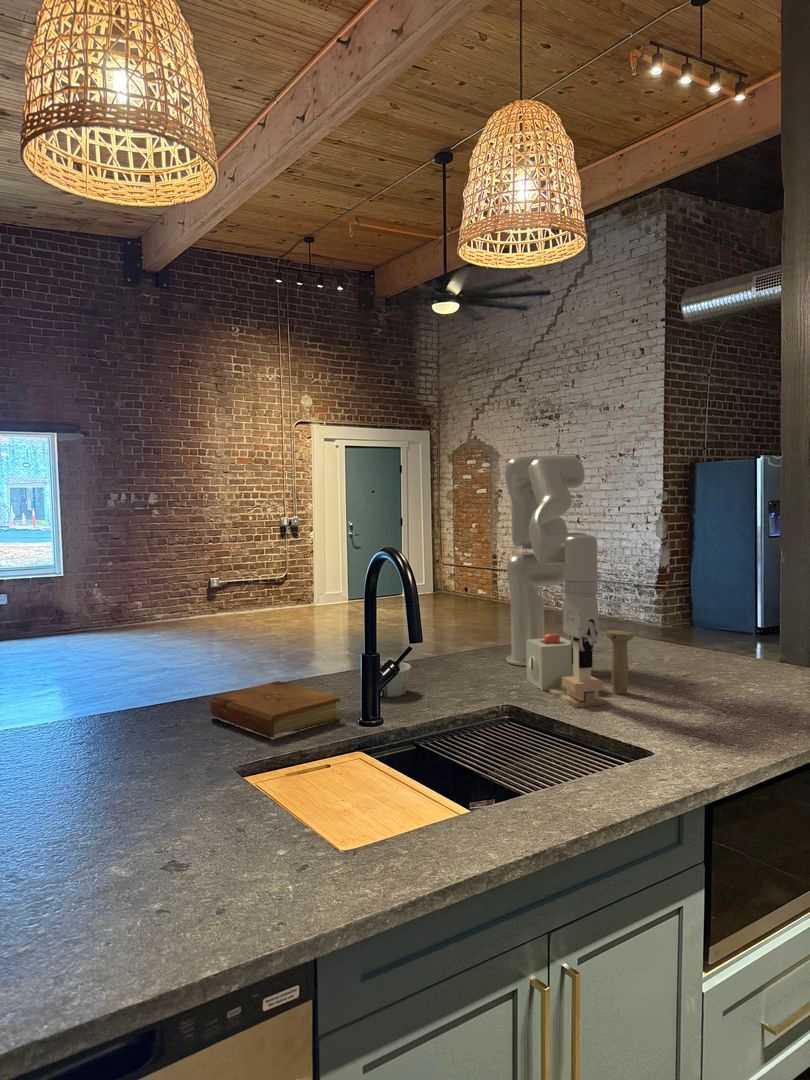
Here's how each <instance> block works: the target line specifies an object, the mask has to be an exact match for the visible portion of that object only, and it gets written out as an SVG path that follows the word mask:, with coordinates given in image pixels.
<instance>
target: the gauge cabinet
mask: <svg viewBox="0 0 810 1080" xmlns="http://www.w3.org/2000/svg"><path fill="white" fill-rule="evenodd" d="M571 648H573V647H571V640H570V639H567V638H565V637H562V636H560V643H559V644H545V643H544V638H542V639H528V640H526V666H525V667H526V668H525V669H526V682H527V681H529V682H530V683H529V682H528V683H529V684H531V683H532V684H533V685H532V684H531V685H532V686H534V685H535V686H537V687H538V688H537V687H536V688H537V689H539V688H540V689H541V691H542V690H543V691H547V690H546V689H547V687H550V686H558V678H562V677H569V676H573V664H572V657H571ZM535 686H534V687H535ZM540 689H539V690H540Z"/></svg>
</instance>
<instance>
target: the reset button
mask: <svg viewBox="0 0 810 1080" xmlns="http://www.w3.org/2000/svg"><path fill="white" fill-rule="evenodd" d="M560 637H561V636H560V634H558V633H544V643H545V644H559V643H560Z"/></svg>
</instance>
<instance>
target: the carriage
mask: <svg viewBox="0 0 810 1080" xmlns="http://www.w3.org/2000/svg"><path fill="white" fill-rule="evenodd" d="M586 641H587V640H584V644H585V642H586ZM579 651H581V650H580V640H577V641H573V676H569V677H562V686H564V687H566V688H567V694H569V695H571V696H572V697H574V698H576V699H578V700H579V701H584V692H589V691H591V692H593V693H594V700H595V699H598V696H599V691H603V690H604V681H602V680H600V679H599V678H596V677H594V676H592V667H591V668H579Z"/></svg>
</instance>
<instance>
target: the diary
mask: <svg viewBox="0 0 810 1080" xmlns="http://www.w3.org/2000/svg"><path fill="white" fill-rule="evenodd" d="M338 702H340V696H336V695H333V694H329V693H325V692H321V691H318V690H314V689H311V688H307V687H302V686H299V685H296V684H291V683H287V682H283V681H281V680H280V681H279V680H277V681H273V682H272V681H271V682H268V683H264V684H259V685H256V686H251V687H247V688H242V689H239V690H234V691H230V692H226V693H222V694H218V695H213V696H212V698H211V700H210V716H211V715H213V716H215V717H218V718H221V719H223V720H226V721H229V722H231V723H234V724H236V725H239V726H242V727H245V728H248V729H251V730H253V731H255V732H258V733H260V734H263V735H266V736H268V737H274V735H275V734H279V733H282V732H287V731H292V730H294V731H299V730H301V729H305V728H308V727H312V726H316V725H320V724H323V723H327V722H330V721H334V720H338V719H340V720H341V717H338V716H337V705H336V704H337V703H338ZM338 721H339V720H338ZM294 731H293V732H294Z"/></svg>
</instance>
